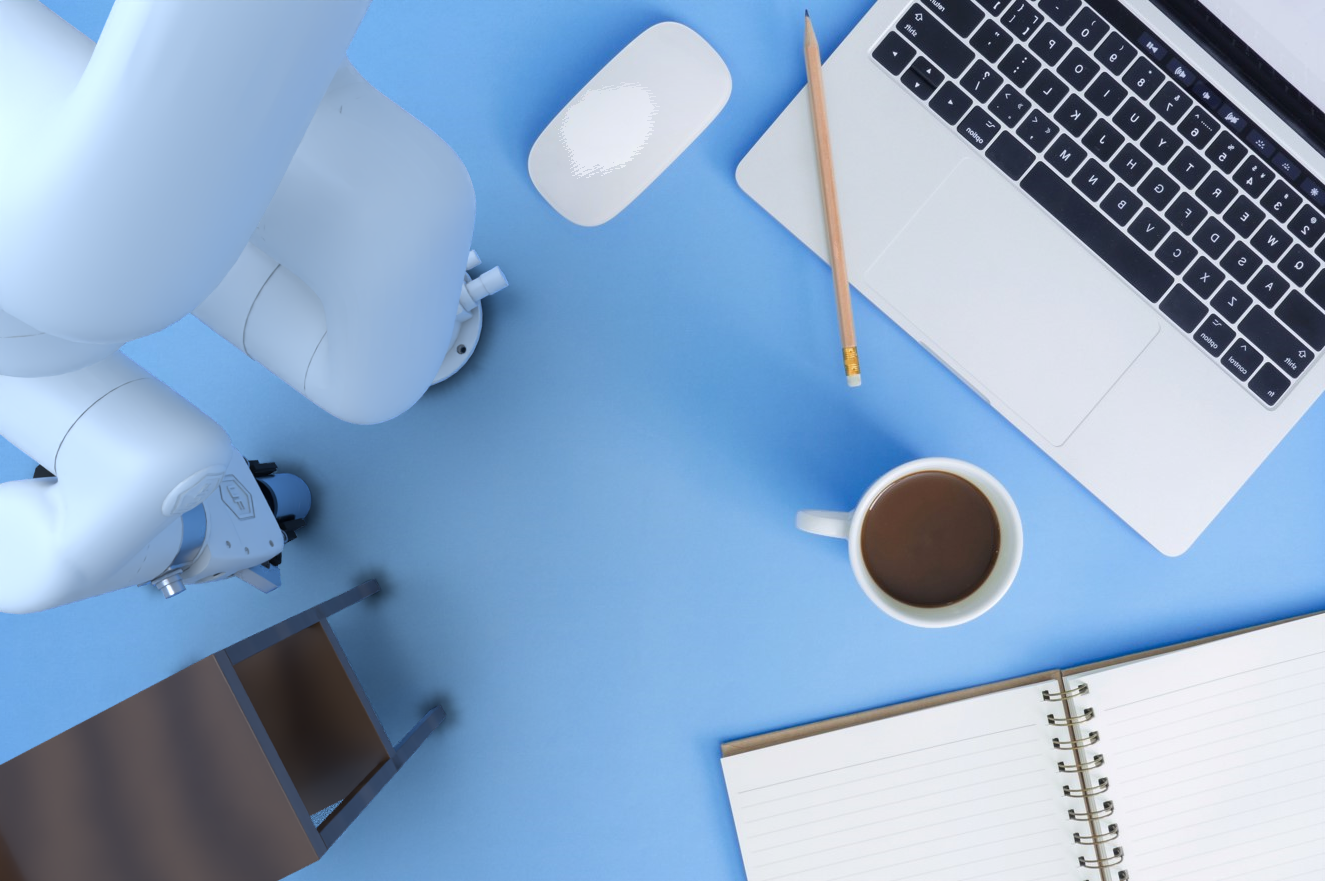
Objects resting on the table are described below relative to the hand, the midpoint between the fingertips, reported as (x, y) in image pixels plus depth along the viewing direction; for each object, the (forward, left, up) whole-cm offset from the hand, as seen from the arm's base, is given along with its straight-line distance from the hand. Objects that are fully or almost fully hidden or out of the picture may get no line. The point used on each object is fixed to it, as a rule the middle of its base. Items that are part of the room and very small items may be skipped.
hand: (275, 501), depth 77 cm
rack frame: (+6, +17, -2) cm, 18 cm away
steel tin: (0, 0, -2) cm, 2 cm away
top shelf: (+6, +17, +23) cm, 29 cm away
